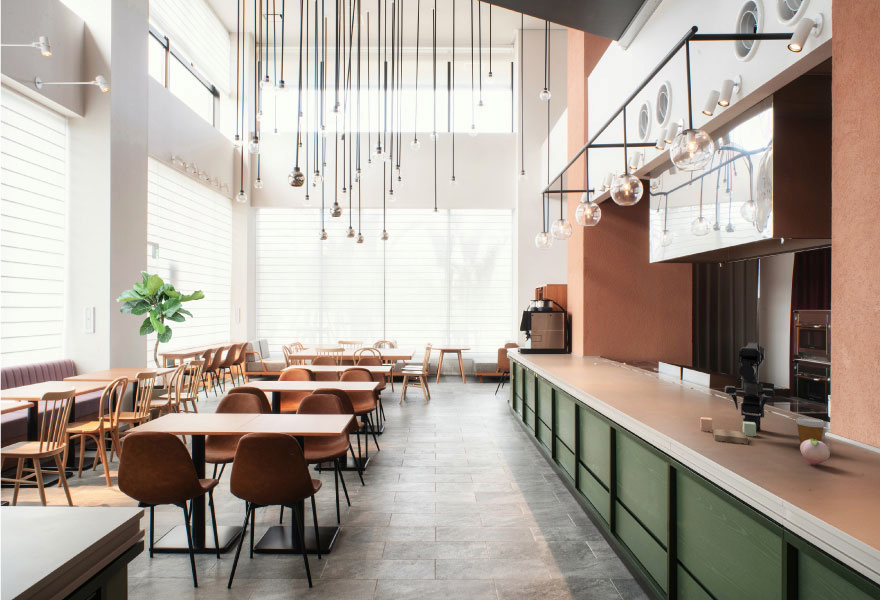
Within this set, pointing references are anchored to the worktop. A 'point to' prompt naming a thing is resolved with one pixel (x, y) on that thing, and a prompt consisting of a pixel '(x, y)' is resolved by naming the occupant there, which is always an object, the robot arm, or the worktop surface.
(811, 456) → the decorative fruit
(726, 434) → the walnut base
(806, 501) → the worktop surface
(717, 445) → the worktop surface
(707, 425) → the terracotta block
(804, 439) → the disposable coffee cup
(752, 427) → the green block
